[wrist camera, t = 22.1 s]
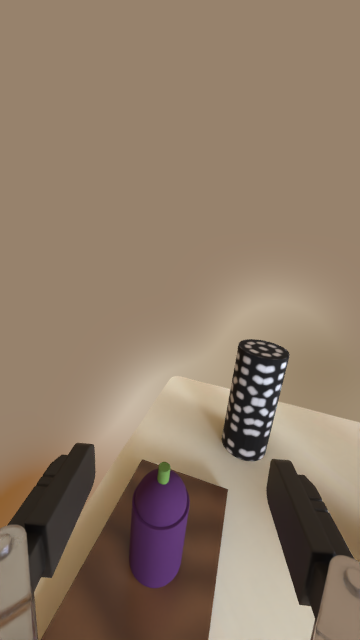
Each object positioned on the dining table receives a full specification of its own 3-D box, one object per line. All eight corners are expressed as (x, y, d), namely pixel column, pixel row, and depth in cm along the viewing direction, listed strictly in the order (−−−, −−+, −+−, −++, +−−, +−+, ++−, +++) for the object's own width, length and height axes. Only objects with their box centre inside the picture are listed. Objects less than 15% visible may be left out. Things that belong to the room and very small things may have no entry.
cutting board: (141, 466, 41) (142, 459, 40) (226, 496, 37) (227, 489, 37) (26, 677, 21) (24, 667, 20) (187, 788, 17) (189, 779, 17)
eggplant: (162, 515, 32) (171, 435, 29) (192, 561, 28) (206, 474, 24) (119, 545, 29) (123, 459, 25) (146, 604, 24) (155, 509, 21)
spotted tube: (274, 449, 47) (299, 353, 42) (246, 468, 42) (270, 363, 37) (240, 422, 54) (258, 336, 48) (213, 437, 49) (228, 343, 43)
